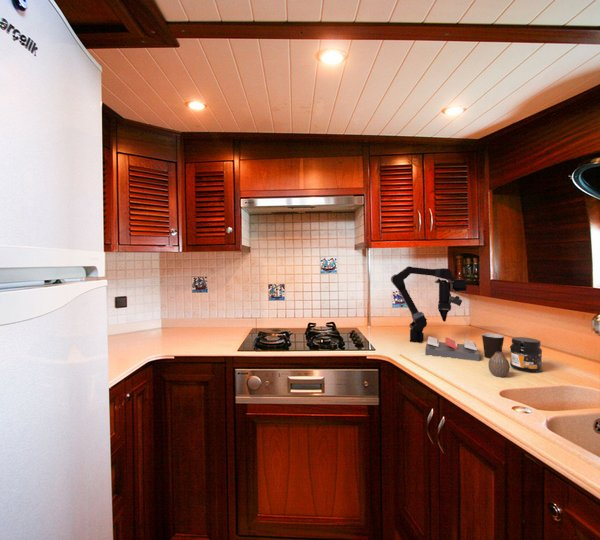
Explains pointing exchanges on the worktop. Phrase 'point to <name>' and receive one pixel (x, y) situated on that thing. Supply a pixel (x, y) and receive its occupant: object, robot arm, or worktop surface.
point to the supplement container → (526, 354)
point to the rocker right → (470, 345)
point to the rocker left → (433, 341)
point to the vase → (499, 365)
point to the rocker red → (451, 343)
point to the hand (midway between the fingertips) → (444, 320)
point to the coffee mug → (492, 344)
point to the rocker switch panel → (452, 351)
